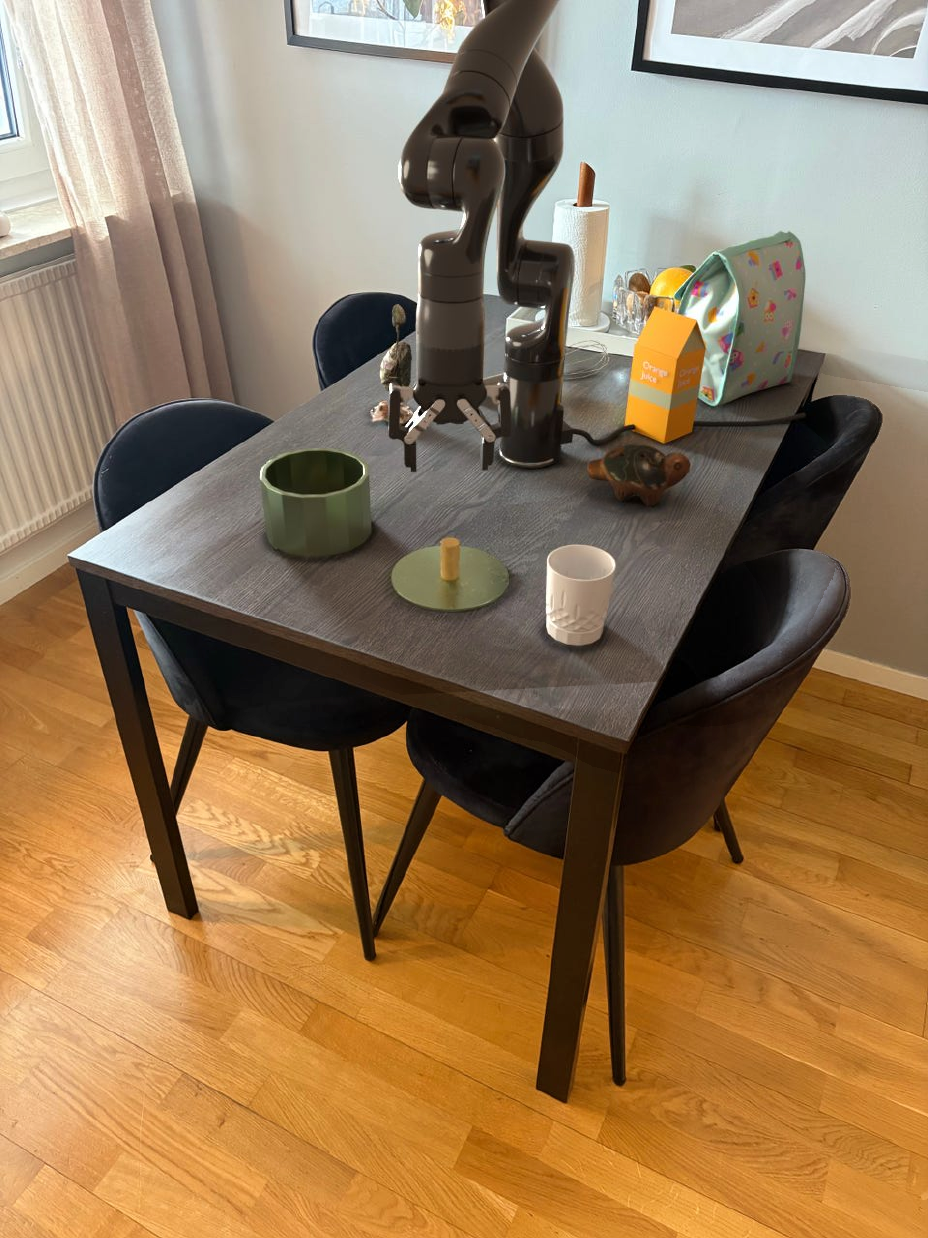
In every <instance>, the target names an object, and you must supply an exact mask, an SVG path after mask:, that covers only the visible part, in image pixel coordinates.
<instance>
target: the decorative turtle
mask: <svg viewBox="0 0 928 1238" xmlns="http://www.w3.org/2000/svg"><path fill="white" fill-rule="evenodd" d="M586 467H587V475H588V478H589V479H590V480H594V481H601V482H607V483H608V482H609V484H610V485H611V486H612V487H613V492H614V494H615V497H616V499H617V500H618V501H620V502H624V501H627V500H629V499H631V498H632V497H634V496H637V497H639V498H640V500H641V501H642V502H643V504H644V505H645V506H646V507H653V506H655V505H656V504H657V503H658V501H659V500H660V498H661V497H662V495H663V494H664V493H665V491H667V490H668V489H670V488H671V487H674V486H675V485H678V484H679V483H680V482H682V480H683V479H685V478H686V476H687V475H688V474H689V473H690V471H691V461H690V459H689V458H688V457H687V456H686V455H685V454H683V453H680V452H677V451H676V452H675V451H672V452H669V453H668V454H665V453H663V452H662V451H661V450H660V449H658V448H655V447H654V446H650V445H646V444H640V443H630V444H623V445H619V446H616V447H613V448H611V449H610V450H608V451H607V452H606V453H605V454H604V456H603V457H601V458H597V459H592V460H590V461H589V462H588V463H587V466H586Z"/></svg>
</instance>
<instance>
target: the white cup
mask: <svg viewBox="0 0 928 1238" xmlns="http://www.w3.org/2000/svg"><path fill="white" fill-rule="evenodd" d="M616 568H617V562H616V560H615V558H614V557H613V555H611V554H610V553H609V552H607V551H605V550H604V549H601V548H599V547H596V546H592V545H587V544H569V545H568V544H567V545H563V546H559V547H557V548H556V549H554V550H552V551H551V552H550V553H549V554H548V556H547V558H546V584H545V585H546V587H545V588H546V589H545V590H546V591H545V593H546V594H545V602H546V603H545V613H546V621H545V623H546V625H545V626H546V630H547V634H548V635H549V636H551V637H552V639H554V640H555V641H557V642H559V643H562V644H565V645H569V646H578V647H579V646H586V645H590V644H593V643H595V642H597V641H598V640H600V639H601V637H602V635H603V632H604V627H605V622H606V619H607V616H608V610H609V606H610V601H611V596H612V590H613V585H614V580H615V574H616Z"/></svg>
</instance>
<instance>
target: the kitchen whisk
mask: <svg viewBox="0 0 928 1238" xmlns="http://www.w3.org/2000/svg"><path fill="white" fill-rule="evenodd" d="M585 342H587V340H582V341H579V342H575V343H573V344H571V345H568V346H566V351H565V356H567V355H568V354H571V353H574V352H576V351H579V350H583V349H585V348H589V347H593V348H594V347H595V348H598V349H600V350H601V351H603V353H597V354H593V355H588V356H584V357H580V358H577V359H573V360H570V361H566V362H564V367H565V366H569V365H573V364H577V363H581V362H585V361H589V360H593V359H596V358H600V357H602V358H601V359H600V361H598V362H597V363H596V364H594V365H592V366H591V367H589V368H586V369H583V370H580V371H576V372H571V373H563V376H569V375H577V374H578V375H579V374H586V373H591V372H592V373H591V374H587V375H584V376H578V377H568V378H567V377H565V378H564V377H563V380H573V379H583V378H586V377H589V376H593V375H595V374H596V373H599V372H600V371H601V369H603V368H605V366H607V365H608V364H609V361H610V357H609V354H610V352H607V351H606V350H607V347H606V345H605V344H602V343H600V342H599V341H596V340H590V342H594V343H596V344H588V345H581V346H575V345H577V344H581V343H585ZM598 345H599V346H601V347H599V346H598ZM573 346H575V347H573ZM570 347H572V348H570ZM604 347H605V348H604ZM568 348H569V349H568ZM573 349H575V350H573ZM569 351H570V352H569ZM566 352H567V353H566ZM606 356H607V359H606ZM578 360H579V361H578ZM603 360H604V361H603ZM606 360H607V363H606ZM602 361H603V364H602V366H601V367H598V368H596V369H592V368H594V367H595V366H597V365H599V364H600V362H602ZM567 363H568V364H567ZM591 369H592V370H591ZM594 371H595V372H594ZM500 381H503V372H501V373H499V374H495V375H490V376H488V377H487V376H486V377H483V382H484V384H485V386H486V385H498V383H499V382H500Z"/></svg>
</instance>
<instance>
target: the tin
mask: <svg viewBox="0 0 928 1238" xmlns="http://www.w3.org/2000/svg"><path fill="white" fill-rule="evenodd" d="M259 482H260V491H261V499H262V508H263V516H264V525H265V533H266V538H267V540H268V541H267V542H268V543H269V544H270V546H271V547H272V548H273V549H275V551H278V549H279V550H280V551H282V552H285V553H287V554H290V555H295V556H300V557H306V558H314V557H331V556H336V555H339V554H344V553H348V552H350V551H352V550H355V548H358V547H359V546H362V545H363V544H365V542H366V541H367V540H368V538H369V537H370V536H371V534H372V510H371V485H370V465H369V464H368V463H367V462H366V461H365V460H364V459H363V458H362V457H361V456H360V455H357V454H354V453H352V452H349V451H347V450H343V449H342V450H341V449H336V448H329V447H320V448H319V447H316V448H315V447H314V448H301V449H298V450H292V451H287V452H285V453H283V454H279V455H277V456H276V457H272V458H271V459H269V460H268V461H267V462H266V464H264V465H263V466H262V467H261V470H260V476H259Z"/></svg>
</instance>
